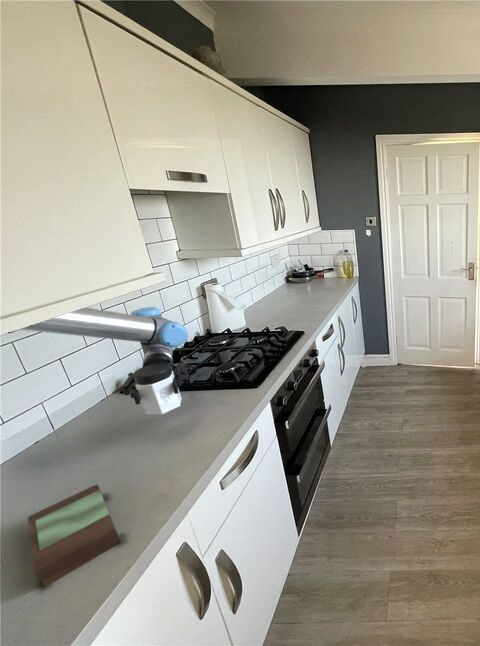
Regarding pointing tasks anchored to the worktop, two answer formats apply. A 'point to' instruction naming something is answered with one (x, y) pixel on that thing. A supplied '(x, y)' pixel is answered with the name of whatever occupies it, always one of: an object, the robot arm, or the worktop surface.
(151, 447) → the worktop surface
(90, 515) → the green-topped wooden base
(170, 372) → the jar
